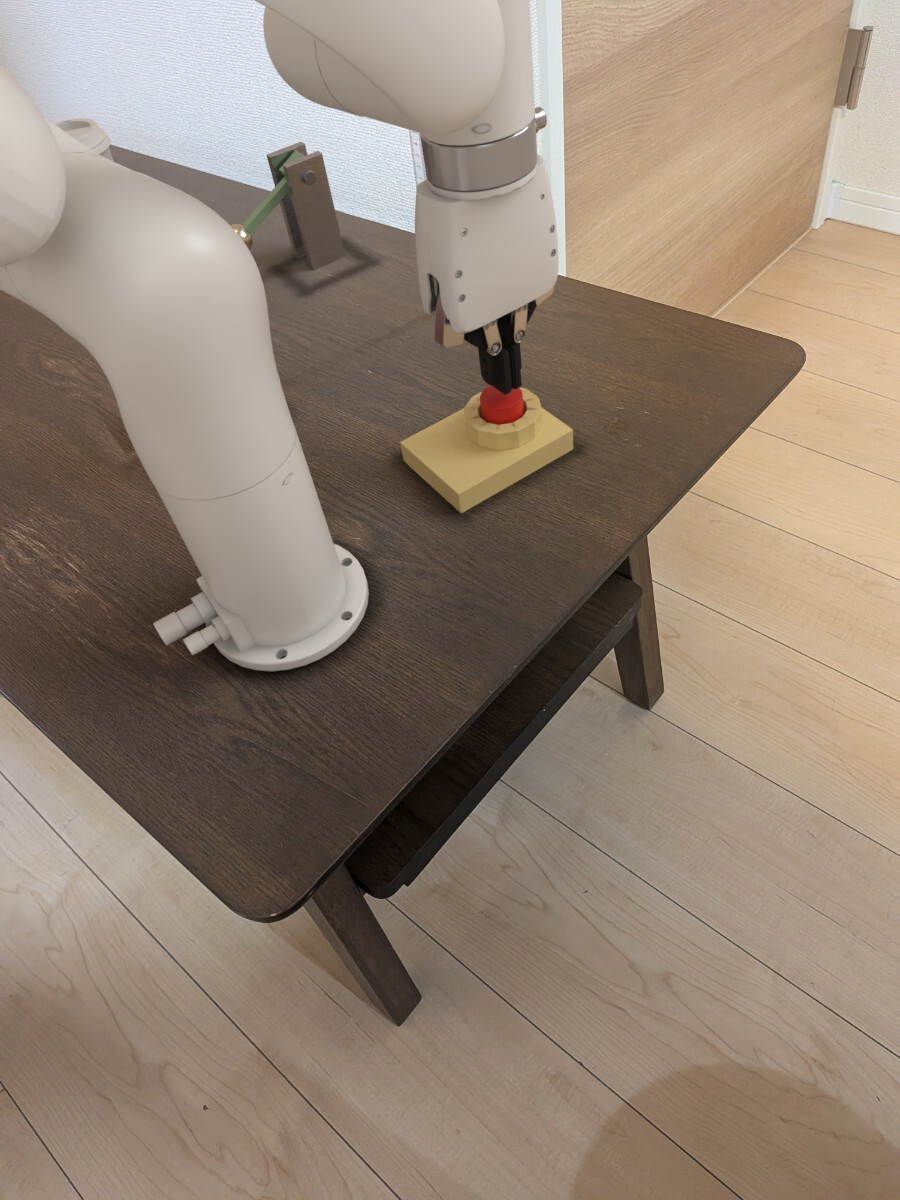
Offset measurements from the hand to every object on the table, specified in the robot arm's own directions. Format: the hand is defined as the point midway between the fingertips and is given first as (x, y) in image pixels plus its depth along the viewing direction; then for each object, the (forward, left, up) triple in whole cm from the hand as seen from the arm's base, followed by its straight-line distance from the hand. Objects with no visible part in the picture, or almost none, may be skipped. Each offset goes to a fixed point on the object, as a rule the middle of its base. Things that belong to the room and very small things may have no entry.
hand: (502, 383), depth 68 cm
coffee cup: (-14, +66, -7) cm, 68 cm away
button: (0, 0, -3) cm, 3 cm away
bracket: (+4, +42, -6) cm, 43 cm away
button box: (-2, 0, -6) cm, 7 cm away
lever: (0, +42, +1) cm, 42 cm away
